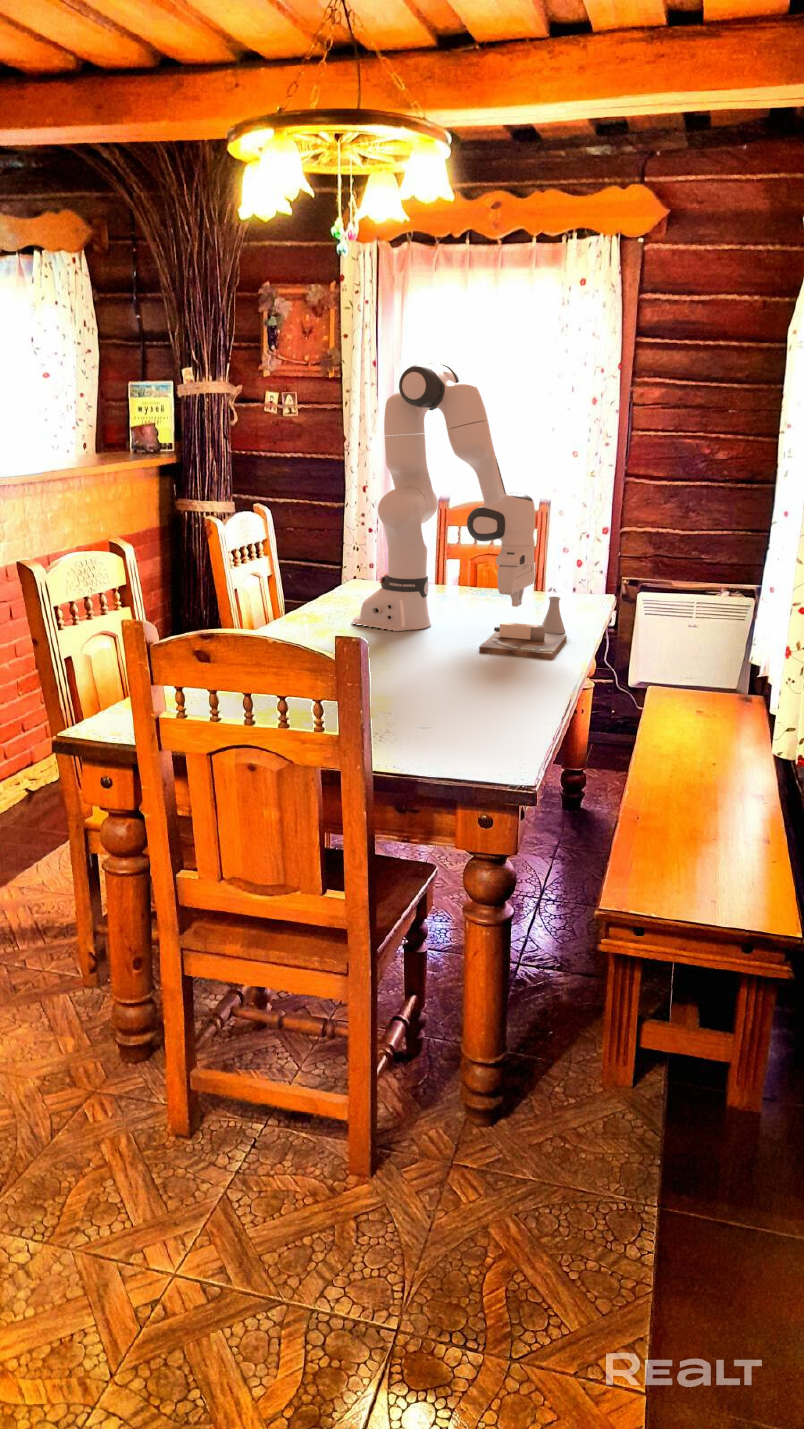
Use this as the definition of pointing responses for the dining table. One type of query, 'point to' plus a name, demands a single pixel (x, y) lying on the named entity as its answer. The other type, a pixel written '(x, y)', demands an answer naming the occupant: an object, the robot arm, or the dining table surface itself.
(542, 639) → the peg lever
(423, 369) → the robot arm
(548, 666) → the dining table surface
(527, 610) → the dining table surface
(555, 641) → the board
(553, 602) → the flask
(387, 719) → the dining table surface
